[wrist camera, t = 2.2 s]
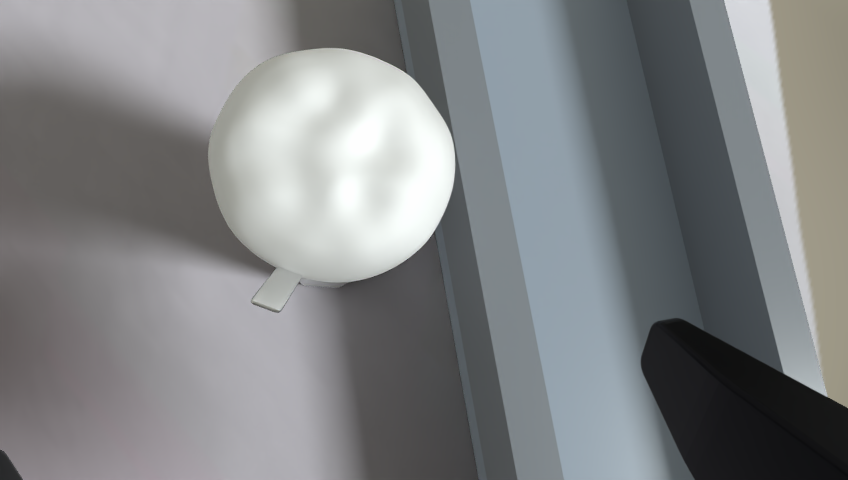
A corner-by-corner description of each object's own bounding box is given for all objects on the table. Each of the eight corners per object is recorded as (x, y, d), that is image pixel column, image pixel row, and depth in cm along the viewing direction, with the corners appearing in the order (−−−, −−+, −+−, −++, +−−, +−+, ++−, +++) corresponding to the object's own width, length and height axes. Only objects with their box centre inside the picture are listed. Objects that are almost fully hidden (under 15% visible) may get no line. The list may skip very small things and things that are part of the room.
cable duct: (776, 577, 20) (888, 632, 16) (510, 658, 18) (566, 743, 14) (631, -29, 23) (696, -104, 19) (391, -17, 21) (410, -99, 17)
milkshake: (213, 303, 18) (109, 249, 9) (284, 147, 19) (262, -54, 10) (355, 356, 19) (407, 362, 9) (414, 201, 20) (516, 61, 10)
